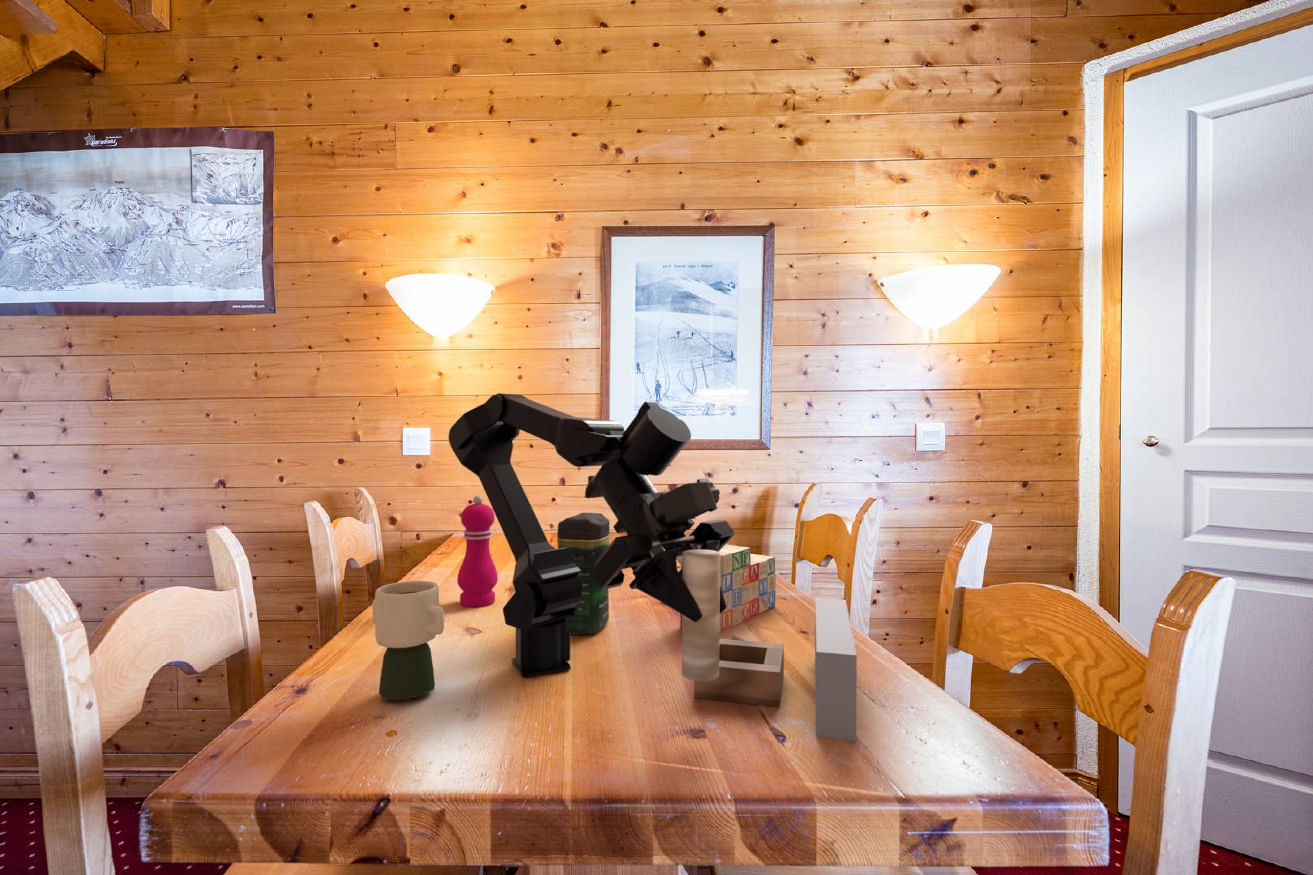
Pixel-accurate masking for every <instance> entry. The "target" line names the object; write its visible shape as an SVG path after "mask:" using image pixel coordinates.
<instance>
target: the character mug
mask: <svg viewBox="0 0 1313 875" xmlns="http://www.w3.org/2000/svg"><path fill="white" fill-rule="evenodd" d="M439 590H440V589H439V585H438V584H437V583H436V582H435V581H434V582H433V581H427V580H407V581H400V582H393V583H387V584H385V585H382V586H379V587H378V588H376V590H375V595H374V596H375V597H374V598H373V601H372V621H373V623H374V625H375V626H374V628H375V630H374V634H375V635H374V636H375V641H376V644H377V645H378V646H381V647H383V648H386V650H385V651H384V654H383V657H382V665H381V671H380V679H379V688H378V694H379V696H380V697H381V698H382V699H384V700H387V701H401V700H406V699H410V698H413V697H414V698H417V697H419V696H421V695H423V694H426V693H429V692H431V691H434V689H435V685H436V682H435V675H434V673H435V672H434V670H435V669H434V664H433V658H432V651H431V650H432V649H431V647H430V645H429V642H430V641H432V640H434V639H435V638H436V636H437V635H442V634H443V633H444V629H445V611H444V608H443V607H441V606H440V594H439Z"/></svg>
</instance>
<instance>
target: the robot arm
mask: <svg viewBox="0 0 1313 875" xmlns="http://www.w3.org/2000/svg"><path fill="white" fill-rule="evenodd" d="M448 431H449V432H448V443H449V445H450V448H451V450H452V452H453V453H454V456H456V459H457V460H458V461H459V463H460V464H461V466H463V467H464V468H466V469H467V470H468V471H470V472H471V473H473V474H474V475H475V476H477V477H478V480H480V484H481V485H482V488H483V490H484V493H485V494H486V496H487V499H488V501H489V503H490V507H491V508H492V510H493V512H494V516H495V517H496V519H497V521H498V523H499V525H500V528H501V531H502V532H503V535H504V537H505V539H506V541H507V543H508V546H509V549H510V551H511V553H512V555H513V557H514V560H515V565H514V571H513V577H512V586H513V589H514V593H513V594H512V596H511V597H510V598H509V600H507V602H506V604H505V605H504V606H503V608H502V614H503V618H504V619H503V620H504V623H505V625H506V626H508V627H509V626H510V627H513V628H515V657H513V658H511V662H512V664H513V666H514V667H515V668H516V669H517V671H518V673H519V674H520V675H521V676H522V678H529V677H533V676H541V675H547V674H552V673H559V672H566V671H570V670H571V664H570V663H569V661H570V660H571V634H570V631H569V630H568V629H567V621H566V620H565V619H568V618H573V617H575V616H576V613H577V609H578V606H579V602H580V598H581V595H582V590H583V583H582V579H581V577H580V575H579V573H581V570H580V569H579V568H578V567H577V565H576V564H575V561H574V559H573V556H572V553H571V551H570V550H569V549H568V548H567V547H566V548H560V549H558V548H556V547H554V546H553V545H551V543H550V542H549V541H548V538H547V536H546V534H545V532H544V530H543V528H542V526H541V524H540V522H539V519H538V517H537V514H536V513H535V511H534V509H533V507H532V505H531V503H530V500H529V499H528V496H527V494H526V492H525V490H524V488H523V486H522V483H521V482H520V480H519V478H518V475H517V473H516V471H515V469H514V467H513V464H512V462H511V460H512V455H513V450H514V443H513V441H514V440H515V439H516V438H517V437H518V436H520V433H521V431H522V432H525V433H527V434H529V435H531V436H534V437H536V438H538V439H541V440H543V441H545V442H547V443H549V444H551V445H552V446H553V447H554V449H555V452H556V453H557V455H558V456H560V457H561V458H562V459H564V460H565V461H566V462H568V463H569V464H570V465H572V466H574V467H576V468H577V467H578V468H587V467H600V468H599V470H598V471H597V472H596V474H595V475H589V476H588V477H587V484H586V487H585V490H584V491H585V492H584V496H585V498H586V499H593V498H596V499H597V498H603V500H604V501H605V502H606V505H608V507H609V508H610V510H611V511H612V513H613V515H614V516H615V518H616V520H617V522H616V523H614V525H613V529H614V531H615V532H616V533H617V534H618V535H619V534H623V533H626V535H622V536H616V537H615V538H613V540H612V541H611V542H610V543H609V546H608V547H607V549H606V550H605V551H604V552H603V554H602V555H601V556H600V557H599V559H598V560H597V561H596V562H595V565H594V576H595V577H596V579H597V581H598V582H599V584H600V586H601V587H602V589H603V590H606V589H613V588H616V587H621V586H622V584H623V583H624V580H625V573H624V571H623V570H626V569H631V570H632V572H631V573H632V574H633V576H634V578H633V579H632V581H631V582H630V583H629V586H628V587H629V588H630V589H631V590H638V591H640V592H641V593H644V594H646V595H647V596H649V597H652V598H653V599H655V600H657V601H659V602H661V604H662V603H663V604H664V605H666V606H668V607H669V608H670V609H673V610H674V611H675V612H677V613H679V614H682V615H684V616H685V617H687V618H689V619H690V620H692V621H694V622H698V621H699V620H700V619H701V618H702V613H701V611H700V609H699V607H698V605H697V603H696V601H695V599H694V598H693V596H692V594H691V593H690V591H689V589H688V588H687V586H686V584H685V582H684V581H683V579H682V569H681V568H680V570H679V571H678V565H677V562H678V563H679V565H680V567H681V566H682V568H683V552H684V551H687V550H698V549H701V550H713V551H717V552H719V551H720V550H721V549H722V548H723V547H724V545H727V543H729V542H730V541H731V540H732V538H733V537H734V536H735V534H736V532H735V531H734V529H733V528H732V527H731V525H730V524H729V523H728V521H727V520H725V519H724V520H723V519H713V520H707V521H702V522H700V523H699V524H698V525H697V526H696V528H694V529H693V531H692V532H691V533H690V534H689V535H688V536H686V532H687V531H689V530H690V529H691V528H692V527H693V526H694V525H695V524H696V523H695V522H694V520H693V519H695V518H697V517H699V516H701V515H704V514H705V513H708V512H710V513H711V512H714V511H717V509H718V506H717V504H718V503H719V501H720V494H721V493H720V489H719V488H718V487H716V486H715V485H714V484H713V483H714V482H711V481H710V480H709V479H708V478H706V477H704V478H698V479H696V481H695V482H689V483H685V484H682V485H679V486H677V487H675V488H673V489H671V490H670V491H658V489H657V488H656V487H655V486H654V484H653V483H652V481H651V480H650V479H649V477H648V476H655V477H657V476H661V475H662V474H664V472H665V471H666V470H667V468H668V467H669V466H670V465H671V463H672V462H673V461H674V460H675V459H676V457H677V456H679V453H681V451H682V450H683V449H684V448H685V446H686V445H687V444H688V443H689V441H690V440H691V438H692V434H691V430H690V428H689V426H688V425H687V423H685V422H684V420H682V419H679V417H677V416H676V415H675V414H674V413H672V412H670V411H668V410H666V409H664V408H662V407H661V406H660V405H659V403H658V402H657V401H655V402H653V401H644V402H643V403H642V404H641V406H640V407H639V409H638V411H637V413H636V415H635V416H634V418H633V419H632V420H631V422H630V424H629V425H628V426H627V427H626V429H625V428H624V426H623V425H622V424H621V423H620V422H618V421H616V420H613V419H612V420H610V419H601V418H591V417H580V416H579V417H578V416H574V415H570V414H567V413H566V412H564V411H560V410H558V409H556V408H553V407H550V406H547V405H544V404H541V403H539V402H537V401H534V400H531V399H529V398H528V397H526V396H524V395H522V394H516V393H501V392H499V393H496V394H493V395H491V396H490V397H489V398H488V399H487V400H486V401H485V402H484V403H482V404H480V405H478V406H476V407H474V408H471V409H470V410H468V411H466V412H464V413H463V414H462V415H461V416H460V418H458V419H457V420H456V421H455V422H454V423H453V425H452V426H451V427H450V428H449V430H448ZM725 609H726V603H725V599H724V596H723V593H722V589H721V586H720V613H722V612H723V611H724V610H725Z"/></svg>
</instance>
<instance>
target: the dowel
mask: <svg viewBox="0 0 1313 875" xmlns="http://www.w3.org/2000/svg"><path fill="white" fill-rule="evenodd" d="M682 579H683V581H684V582H685V584H686V586H687V588H688V589H689V591H690V593H691V594H692V596H693V598H694V599H695V601H696V603H697V605H698V607H699V609H700V611H701V613H702V618H701V619H700V620H699V621H698V622H694V621H692V620H690V619H689V618H687V617H685V616H684V615H682V628H681V675H682V677H683V678H685V679H687V680H688V681H700V682H704V681H711V680H715V679H717V678H718V677H719V639H720V632H721V631H720V553H719V552H717V551H713V550H701V549H698V550H687V551H684V552H683V568H682Z"/></svg>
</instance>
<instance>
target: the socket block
mask: <svg viewBox="0 0 1313 875" xmlns="http://www.w3.org/2000/svg"><path fill="white" fill-rule="evenodd" d="M784 658H785V644H784V643H774V642H765V641H764V642H763V641H751V640H740V639H727V638H719V677H718V678H717V679H715V680H711V681H704V682H700V681H694V688H693V689H694V693H693V694H694V699H701V700H702V699H703V700H710V701H711V700H712V701H719V702H720V701H722V702H728V703H729V702H731V703H740V704H750V705H757V706H758V705H759V706H767V707H776V708H780V707H781V700H782V699H781V698H782V691H783V683H784V677H785V676H784V674H785V673H784V671H785V663H784V662H785V660H784Z"/></svg>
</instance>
